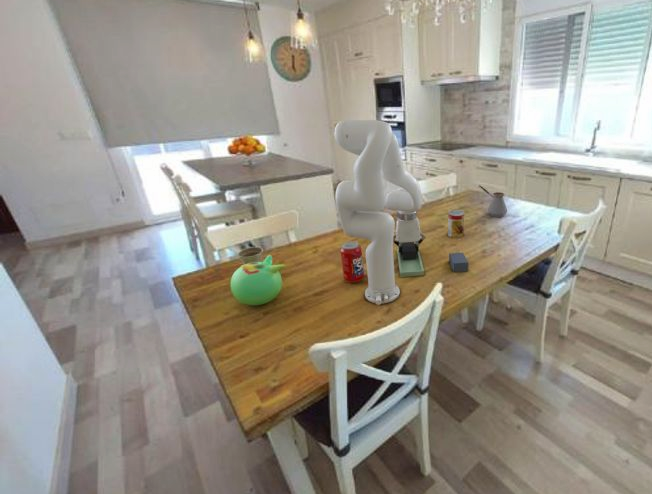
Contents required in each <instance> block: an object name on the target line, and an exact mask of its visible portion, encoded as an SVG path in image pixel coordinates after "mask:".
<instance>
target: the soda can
mask: <svg viewBox="0 0 652 494" xmlns="http://www.w3.org/2000/svg"><path fill="white" fill-rule="evenodd" d="M362 249H363V248H362V246H361V245H360V243H359V242H357V241H346V242H344V243H342V244H341V248H340V249H339V250H340V258H341V266H342V275H343V280H344V281H345V282H347V283H354V284H355V283H358V282H361V281H362V280H363V279H364V277H365V270H364V261H363V252H362V251H363V250H362Z"/></svg>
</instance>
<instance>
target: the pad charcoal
mask: <svg viewBox="0 0 652 494" xmlns="http://www.w3.org/2000/svg"><path fill="white" fill-rule="evenodd" d="M402 258H403V260H407V259H417V255H416V247H415V242H402Z"/></svg>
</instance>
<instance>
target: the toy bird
mask: <svg viewBox="0 0 652 494" xmlns="http://www.w3.org/2000/svg"><path fill="white" fill-rule="evenodd" d="M284 268H286V265H285V264H282V263H281V264H273V255H271V254H268V255H267V256H266V257H265V259H264V260H262V262H252V263H248V264H245V265H243V264H242V265H240V267H239V268H237V269H236V270H235V271H234V272H233V274H232V276H231V278H230V283H229V285H230V290H231V294H232V295H233V297H234V298H235V299H236V300H237V301H238V302H240V303H242V304H244V305H247V306H262V305H265V304H268V303H270V302H271V301H273V300H275V299H276V297H277V296H278V295H279V294H280V292H281V290H282V287H283V279H282V275H281V273H280V271H281V270H283V269H284Z"/></svg>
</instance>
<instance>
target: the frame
mask: <svg viewBox="0 0 652 494" xmlns="http://www.w3.org/2000/svg"><path fill="white" fill-rule="evenodd" d="M396 253H397V260H398V261H397V262H398V268H399V269H398V270H399V277H400V278H405V277H406V278H407V277H419V276H425V269H424V264H423V262H422V257H421V253H420V250H419V251H418V252H417V254H416V255H417V259H407V260H403V258H402V255H401V253H399V247H397V248H396Z"/></svg>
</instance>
